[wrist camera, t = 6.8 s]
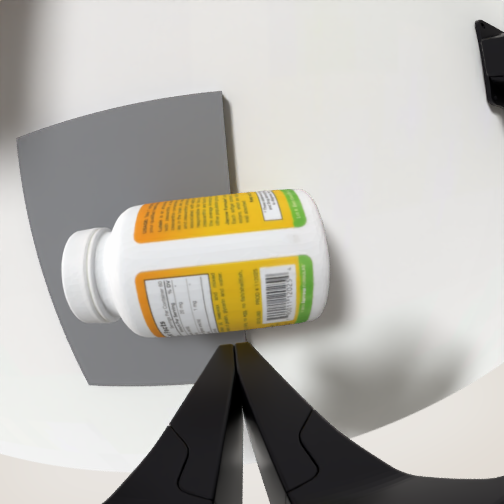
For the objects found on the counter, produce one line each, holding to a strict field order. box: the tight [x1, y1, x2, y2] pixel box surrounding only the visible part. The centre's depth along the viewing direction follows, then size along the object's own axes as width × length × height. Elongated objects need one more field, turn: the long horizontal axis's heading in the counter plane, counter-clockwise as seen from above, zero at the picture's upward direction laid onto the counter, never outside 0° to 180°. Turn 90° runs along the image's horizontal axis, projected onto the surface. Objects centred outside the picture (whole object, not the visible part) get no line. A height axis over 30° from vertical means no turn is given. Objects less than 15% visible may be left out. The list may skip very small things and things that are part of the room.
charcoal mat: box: [17, 91, 246, 386], centre depth 15 cm, size 11×16×1 cm
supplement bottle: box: [62, 189, 330, 337], centre depth 12 cm, size 5×5×10 cm
